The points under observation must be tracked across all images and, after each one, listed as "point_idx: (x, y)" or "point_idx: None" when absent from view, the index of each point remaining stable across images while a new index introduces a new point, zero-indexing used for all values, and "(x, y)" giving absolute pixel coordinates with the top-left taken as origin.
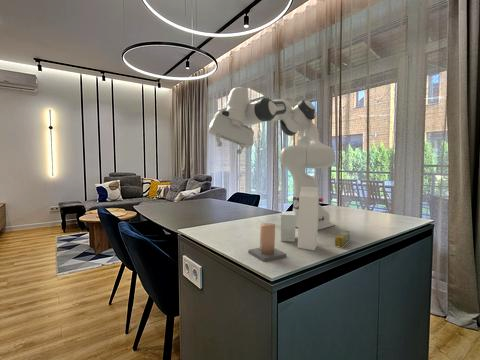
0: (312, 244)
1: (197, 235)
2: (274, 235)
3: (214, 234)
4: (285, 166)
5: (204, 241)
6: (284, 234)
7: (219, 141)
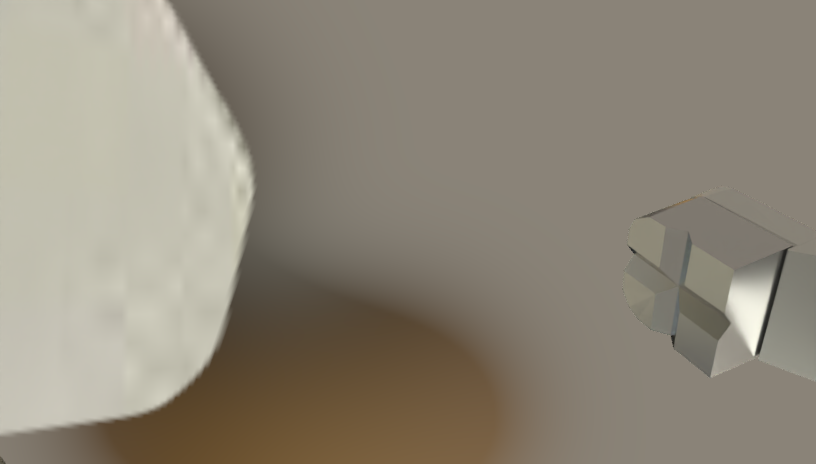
0: None
1: (198, 159)
2: None
3: (79, 172)
4: None
5: (153, 15)
6: None
7: (802, 229)
